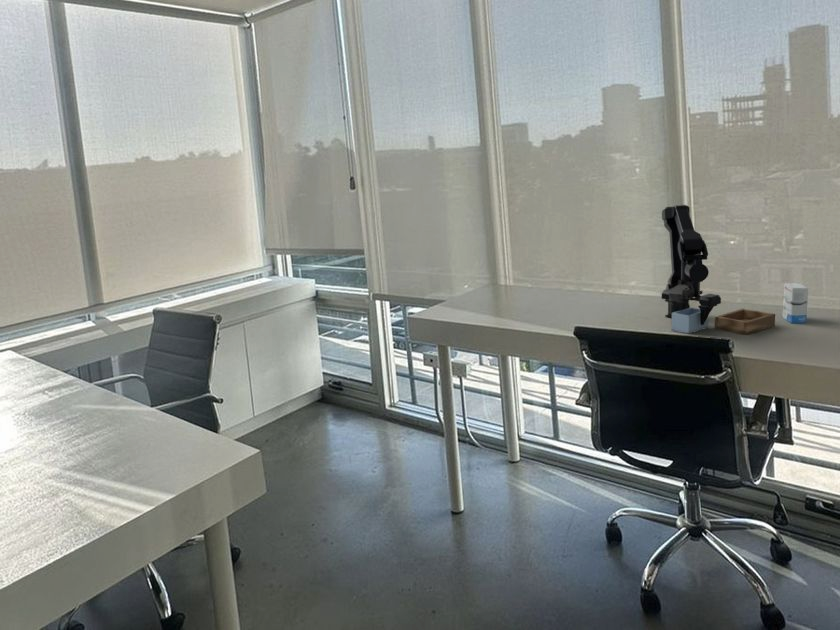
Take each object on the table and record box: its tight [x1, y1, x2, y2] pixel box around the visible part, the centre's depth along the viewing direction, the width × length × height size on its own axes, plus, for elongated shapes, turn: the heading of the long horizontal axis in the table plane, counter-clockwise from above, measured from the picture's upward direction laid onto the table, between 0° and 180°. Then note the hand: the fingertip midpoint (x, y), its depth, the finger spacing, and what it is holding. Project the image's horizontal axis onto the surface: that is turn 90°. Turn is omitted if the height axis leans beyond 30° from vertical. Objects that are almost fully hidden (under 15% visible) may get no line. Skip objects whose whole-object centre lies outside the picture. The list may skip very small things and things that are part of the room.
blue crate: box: [671, 307, 709, 334], centre depth 222 cm, size 6×10×6 cm, turn 122°
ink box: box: [782, 282, 809, 324], centre depth 223 cm, size 8×5×12 cm, turn 168°
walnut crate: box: [714, 308, 776, 336], centre depth 220 cm, size 11×15×4 cm
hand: (689, 322), depth 222 cm, fingers open, 9 cm apart
